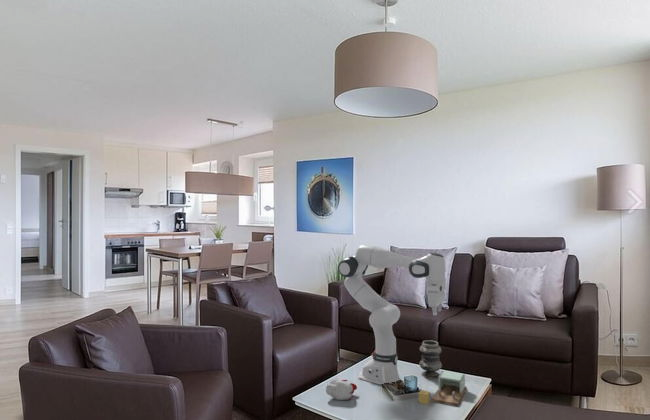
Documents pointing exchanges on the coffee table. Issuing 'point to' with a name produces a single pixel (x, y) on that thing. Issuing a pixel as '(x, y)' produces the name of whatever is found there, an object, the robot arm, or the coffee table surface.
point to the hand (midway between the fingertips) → (437, 313)
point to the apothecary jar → (430, 358)
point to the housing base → (449, 395)
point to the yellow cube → (424, 397)
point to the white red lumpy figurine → (340, 389)
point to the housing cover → (452, 379)
